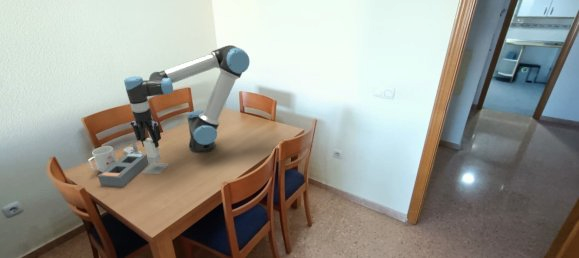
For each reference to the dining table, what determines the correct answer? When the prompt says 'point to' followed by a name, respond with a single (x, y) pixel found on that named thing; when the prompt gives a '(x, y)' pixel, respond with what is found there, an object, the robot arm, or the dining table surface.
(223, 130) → the dining table surface
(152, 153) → the plug
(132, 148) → the electronic device
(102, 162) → the mug
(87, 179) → the dining table surface
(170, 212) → the dining table surface
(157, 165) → the mat
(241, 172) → the dining table surface
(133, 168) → the dock
